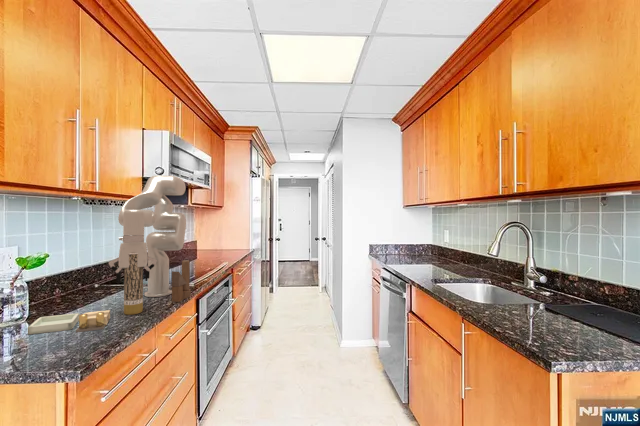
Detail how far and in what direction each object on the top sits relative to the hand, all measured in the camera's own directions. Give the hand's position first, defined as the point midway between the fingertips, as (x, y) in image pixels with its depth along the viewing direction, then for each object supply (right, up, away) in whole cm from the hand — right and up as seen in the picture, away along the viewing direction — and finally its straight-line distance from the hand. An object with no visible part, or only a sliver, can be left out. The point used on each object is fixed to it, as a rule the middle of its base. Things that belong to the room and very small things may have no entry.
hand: (133, 281), depth 134 cm
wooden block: (+10, -13, +22) cm, 28 cm away
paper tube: (0, -13, 0) cm, 13 cm away
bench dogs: (-4, -13, -18) cm, 23 cm away
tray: (-19, -13, -16) cm, 28 cm away
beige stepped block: (-7, -13, -12) cm, 19 cm away
